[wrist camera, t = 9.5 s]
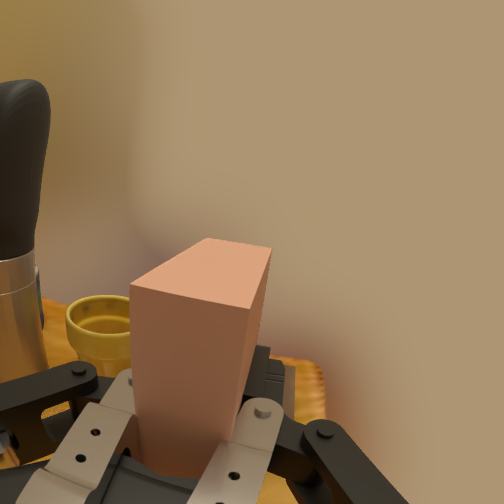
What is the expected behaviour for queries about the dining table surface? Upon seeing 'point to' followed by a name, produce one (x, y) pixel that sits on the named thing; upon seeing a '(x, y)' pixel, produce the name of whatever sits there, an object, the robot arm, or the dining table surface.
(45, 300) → the dining table surface
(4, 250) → the robot arm
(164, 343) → the tall pink pillar
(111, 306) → the plant pot
